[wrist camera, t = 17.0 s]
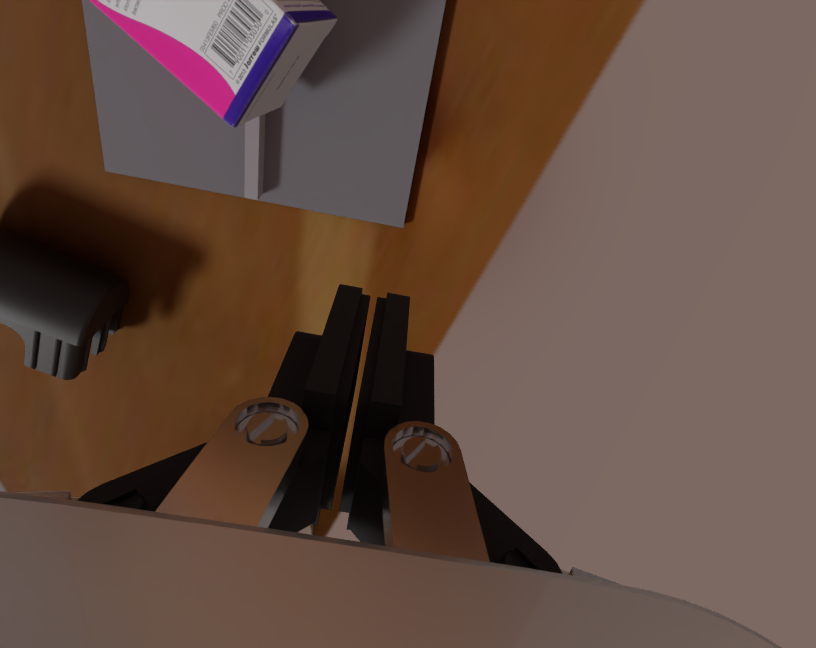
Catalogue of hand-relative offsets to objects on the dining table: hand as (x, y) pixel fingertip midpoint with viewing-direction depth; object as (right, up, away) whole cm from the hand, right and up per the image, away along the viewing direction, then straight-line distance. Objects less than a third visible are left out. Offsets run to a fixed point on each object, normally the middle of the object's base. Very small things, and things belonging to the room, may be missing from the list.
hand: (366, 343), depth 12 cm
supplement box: (-5, +12, +13) cm, 18 cm away
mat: (-7, +14, +18) cm, 24 cm away
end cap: (-24, +4, +25) cm, 35 cm away
